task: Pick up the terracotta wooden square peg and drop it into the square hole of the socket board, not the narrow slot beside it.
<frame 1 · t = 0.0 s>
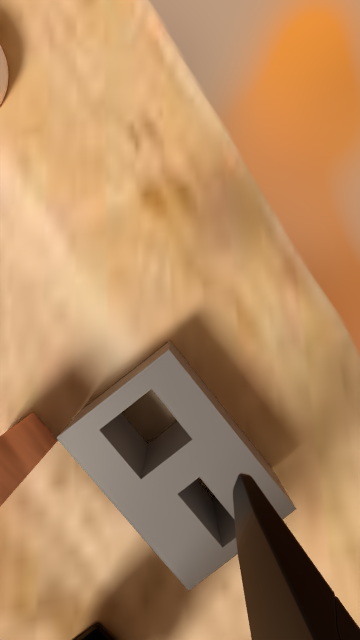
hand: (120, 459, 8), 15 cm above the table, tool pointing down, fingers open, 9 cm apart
socket board: (178, 440, 24), on the table
peg: (30, 437, 24), on the table
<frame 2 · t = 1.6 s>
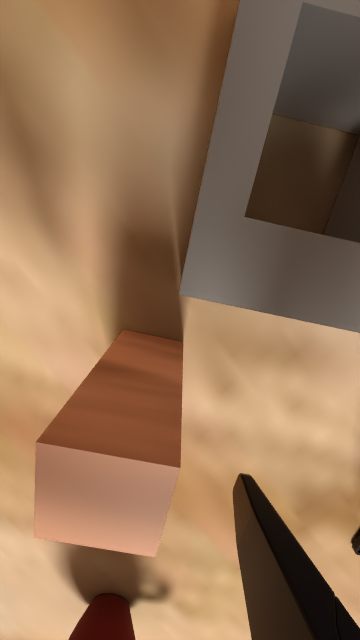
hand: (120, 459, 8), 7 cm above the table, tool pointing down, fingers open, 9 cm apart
peg: (148, 362, 15), on the table
mug: (122, 602, 24), on the table
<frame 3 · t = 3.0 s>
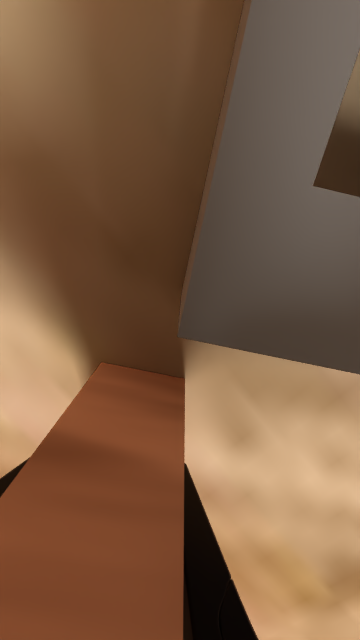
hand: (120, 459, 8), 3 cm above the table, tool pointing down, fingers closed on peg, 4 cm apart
peg: (137, 405, 11), on the table, touching gripper
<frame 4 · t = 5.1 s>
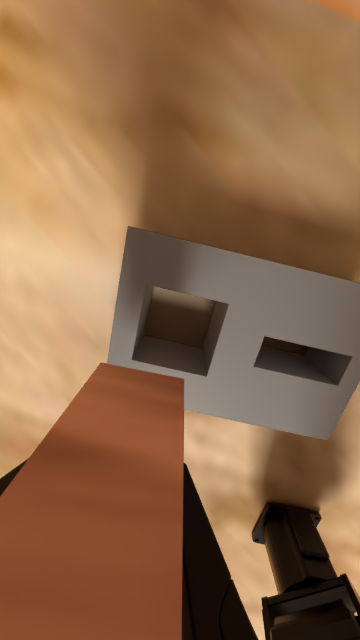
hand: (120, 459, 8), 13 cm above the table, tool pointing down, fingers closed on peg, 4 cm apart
socket board: (228, 325, 21), on the table
peg: (136, 405, 11), point 10 cm above the table, touching gripper
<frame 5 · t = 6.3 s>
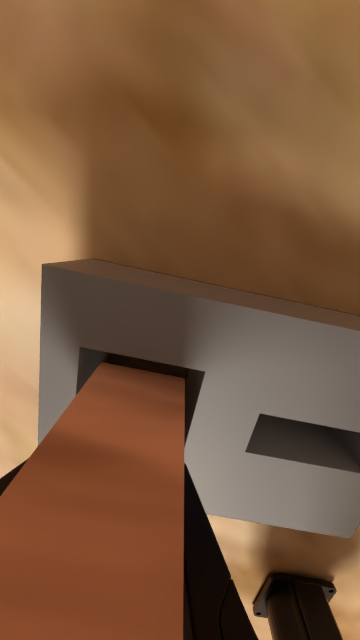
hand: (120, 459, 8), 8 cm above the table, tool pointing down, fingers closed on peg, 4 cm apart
socket board: (213, 373, 16), on the table
peg: (137, 405, 11), point 4 cm above the table, touching gripper
when the fingers open (6 cm above the table, at t = 7.3 s): peg drops 3 cm, resting in socket board.
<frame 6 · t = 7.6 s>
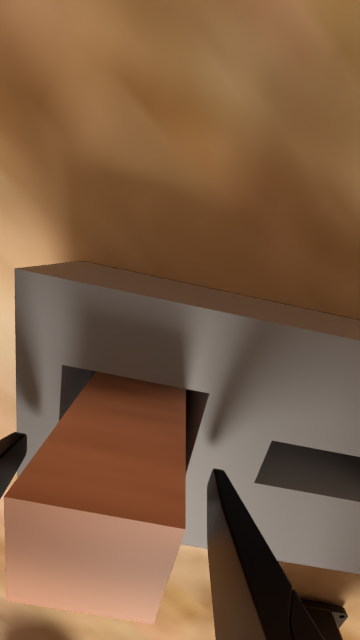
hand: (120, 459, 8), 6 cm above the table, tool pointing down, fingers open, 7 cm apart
socket board: (216, 387, 14), on the table
peg: (147, 373, 14), resting in socket board
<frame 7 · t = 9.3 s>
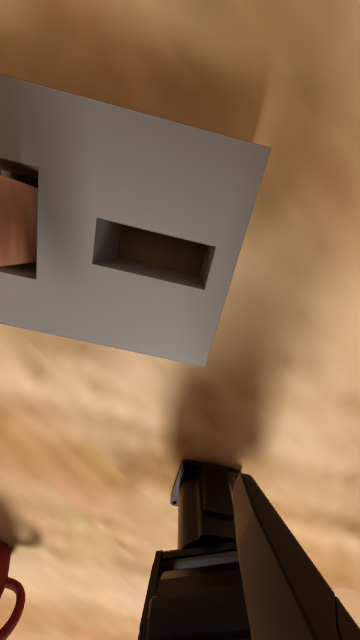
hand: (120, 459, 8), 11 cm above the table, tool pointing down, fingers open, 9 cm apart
socket board: (102, 237, 17), on the table
peg: (41, 223, 16), resting in socket board
mug: (6, 547, 30), on the table
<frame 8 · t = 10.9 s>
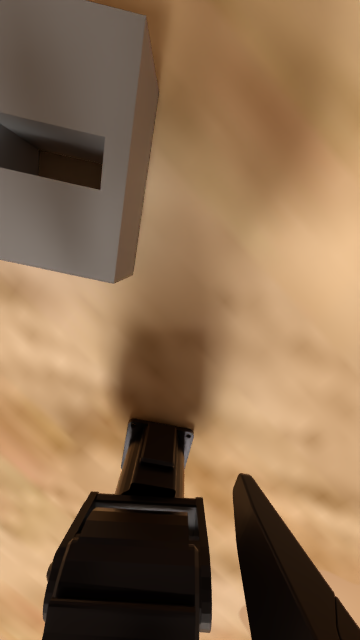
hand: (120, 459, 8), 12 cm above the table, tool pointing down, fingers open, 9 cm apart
socket board: (20, 165, 16), on the table
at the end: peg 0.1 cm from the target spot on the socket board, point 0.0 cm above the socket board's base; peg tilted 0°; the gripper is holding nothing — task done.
